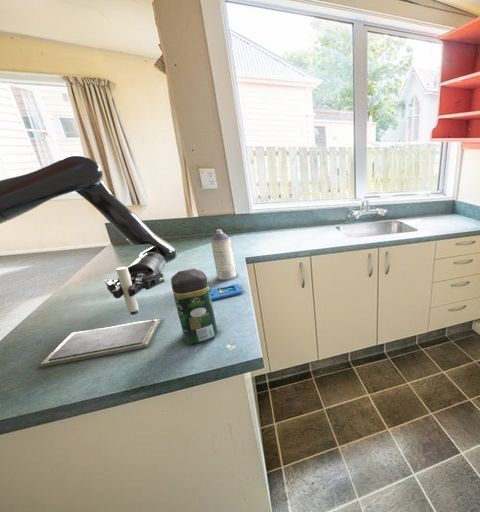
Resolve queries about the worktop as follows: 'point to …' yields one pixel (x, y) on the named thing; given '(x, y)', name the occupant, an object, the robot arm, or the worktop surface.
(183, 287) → the coffee jar
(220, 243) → the aerosol can
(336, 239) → the worktop surface
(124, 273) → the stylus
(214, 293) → the handheld gaming device
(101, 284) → the worktop surface
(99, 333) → the chalkboard
